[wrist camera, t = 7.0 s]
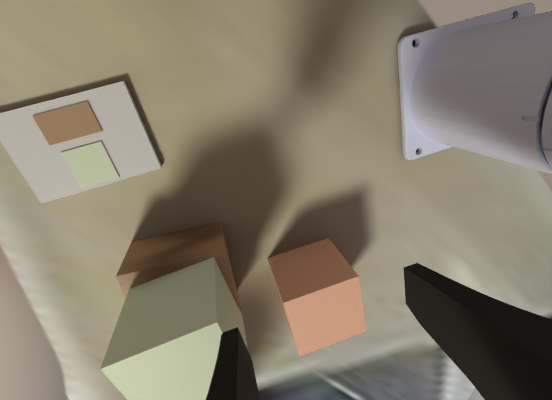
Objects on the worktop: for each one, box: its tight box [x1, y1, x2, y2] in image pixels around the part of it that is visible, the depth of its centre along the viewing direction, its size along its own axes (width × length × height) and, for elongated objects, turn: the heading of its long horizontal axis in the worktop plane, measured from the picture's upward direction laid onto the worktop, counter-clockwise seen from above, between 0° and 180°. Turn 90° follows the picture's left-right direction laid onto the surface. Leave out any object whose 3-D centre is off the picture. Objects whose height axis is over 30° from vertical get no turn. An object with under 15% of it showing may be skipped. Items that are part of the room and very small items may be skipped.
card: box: [0, 81, 162, 203], centre depth 16 cm, size 7×5×1 cm
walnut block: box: [116, 222, 241, 312], centre depth 19 cm, size 6×6×4 cm
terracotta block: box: [268, 238, 366, 356], centre depth 21 cm, size 5×5×5 cm
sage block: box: [101, 257, 248, 400], centre depth 15 cm, size 5×5×5 cm
